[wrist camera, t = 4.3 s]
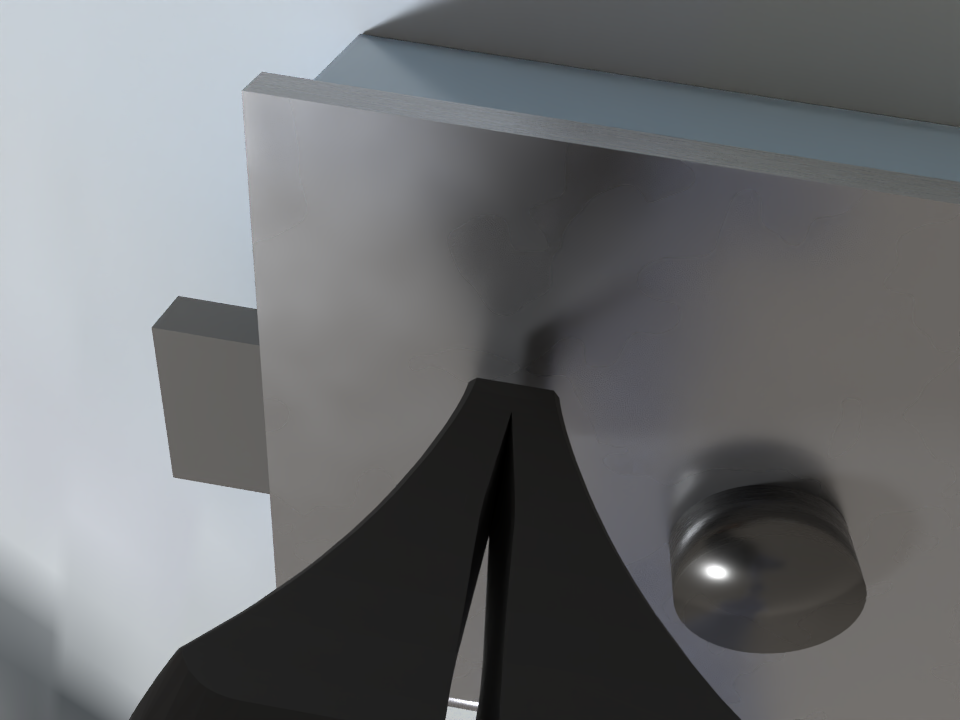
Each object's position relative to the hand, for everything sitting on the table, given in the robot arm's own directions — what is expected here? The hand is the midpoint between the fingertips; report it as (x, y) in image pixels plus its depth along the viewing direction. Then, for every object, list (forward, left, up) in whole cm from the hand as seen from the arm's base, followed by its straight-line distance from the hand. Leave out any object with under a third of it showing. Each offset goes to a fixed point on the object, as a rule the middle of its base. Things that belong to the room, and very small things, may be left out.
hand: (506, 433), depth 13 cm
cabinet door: (-3, -5, -2) cm, 6 cm away
